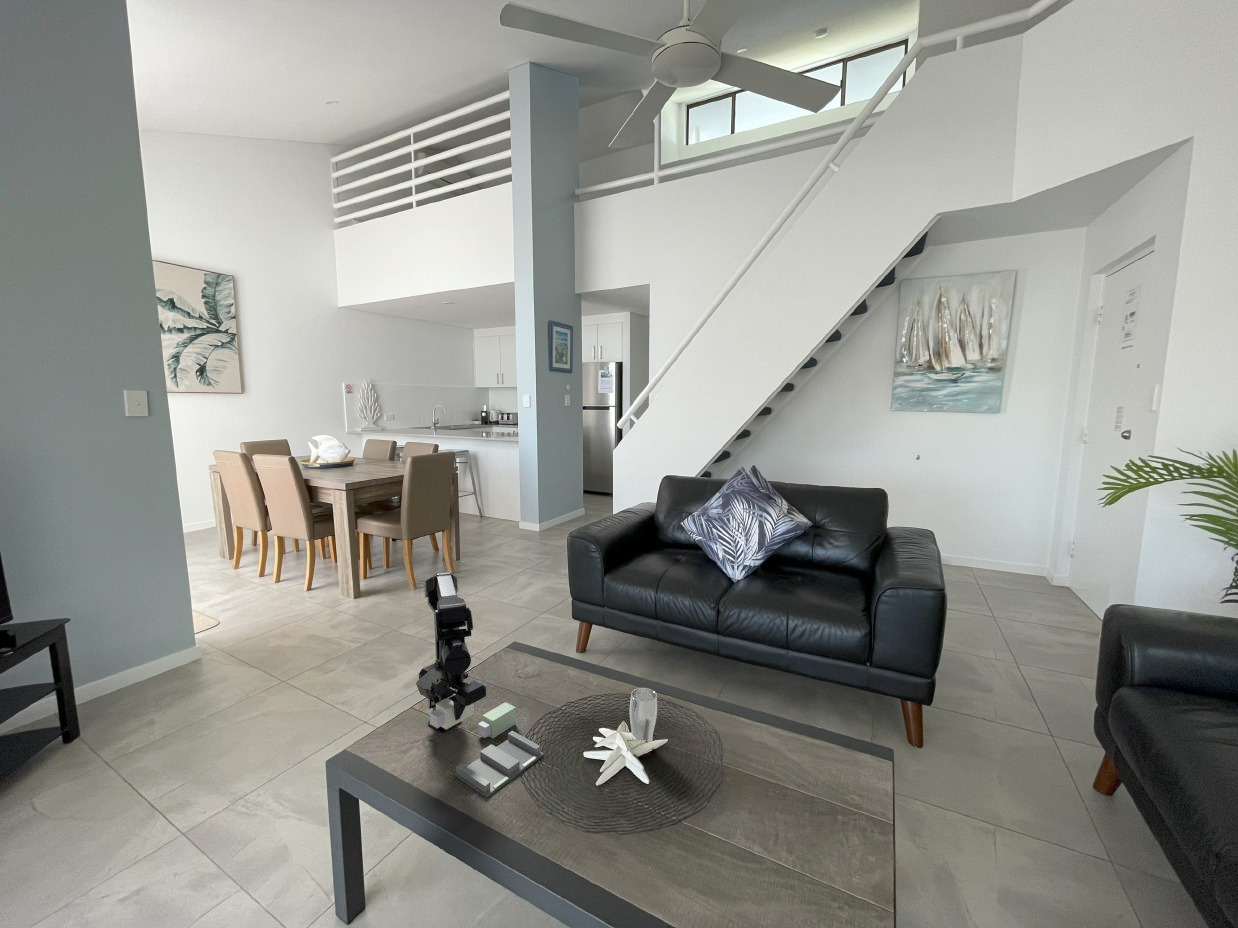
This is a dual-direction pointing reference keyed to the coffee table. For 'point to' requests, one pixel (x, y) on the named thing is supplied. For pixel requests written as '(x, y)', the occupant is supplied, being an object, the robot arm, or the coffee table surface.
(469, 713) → the cream plug
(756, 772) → the coffee table surface
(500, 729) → the sage plug
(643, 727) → the beer glass
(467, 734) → the coffee table surface
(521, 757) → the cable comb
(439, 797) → the coffee table surface
